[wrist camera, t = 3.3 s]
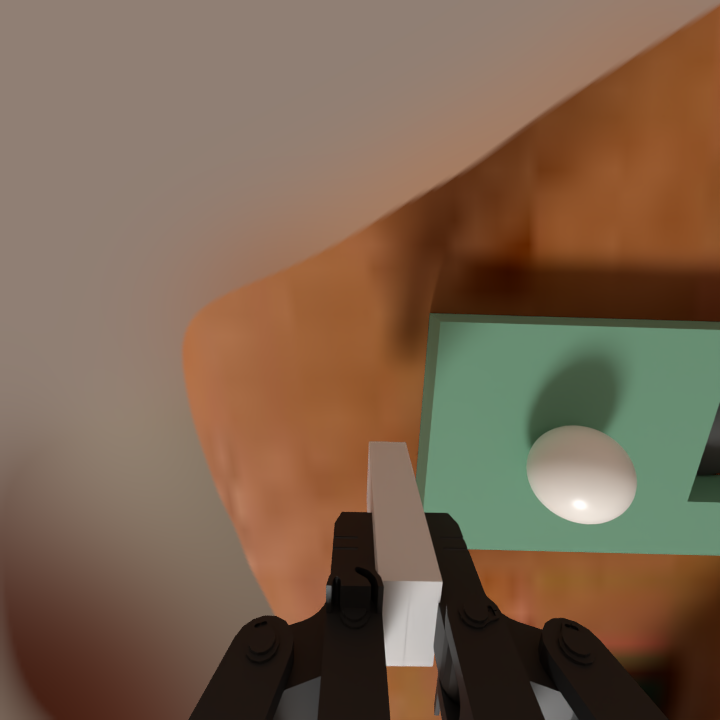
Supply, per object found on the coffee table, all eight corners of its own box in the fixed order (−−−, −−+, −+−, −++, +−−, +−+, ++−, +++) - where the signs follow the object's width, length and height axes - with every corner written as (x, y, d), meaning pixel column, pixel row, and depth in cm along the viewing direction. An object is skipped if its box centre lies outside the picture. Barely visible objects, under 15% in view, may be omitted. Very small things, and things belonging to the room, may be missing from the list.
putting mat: (864, 326, 18) (941, 336, 16) (780, 524, 21) (834, 558, 19) (429, 313, 18) (440, 321, 16) (412, 515, 21) (419, 547, 19)
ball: (603, 411, 17) (676, 457, 13) (586, 486, 18) (649, 548, 14) (518, 409, 17) (565, 454, 13) (506, 483, 18) (546, 546, 14)
